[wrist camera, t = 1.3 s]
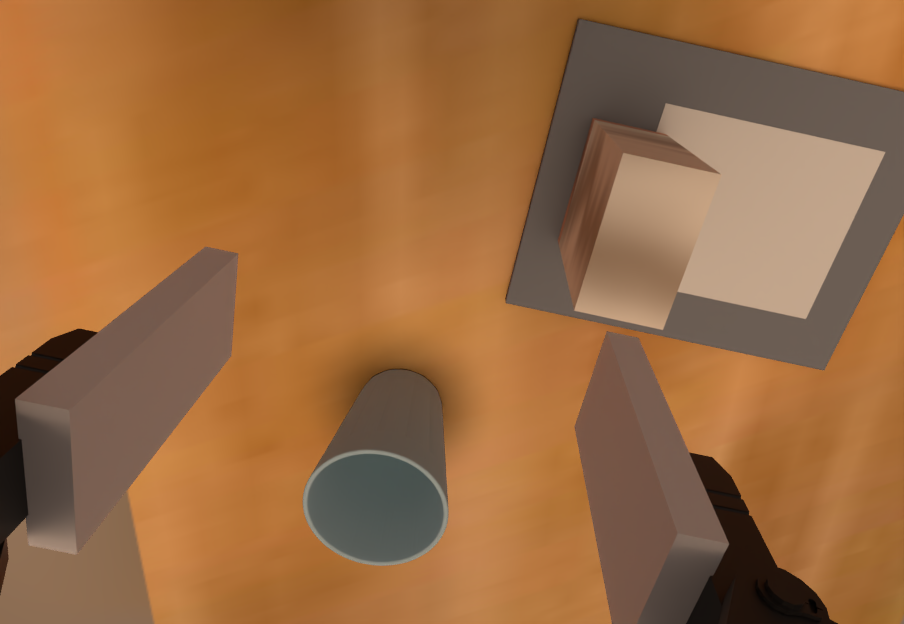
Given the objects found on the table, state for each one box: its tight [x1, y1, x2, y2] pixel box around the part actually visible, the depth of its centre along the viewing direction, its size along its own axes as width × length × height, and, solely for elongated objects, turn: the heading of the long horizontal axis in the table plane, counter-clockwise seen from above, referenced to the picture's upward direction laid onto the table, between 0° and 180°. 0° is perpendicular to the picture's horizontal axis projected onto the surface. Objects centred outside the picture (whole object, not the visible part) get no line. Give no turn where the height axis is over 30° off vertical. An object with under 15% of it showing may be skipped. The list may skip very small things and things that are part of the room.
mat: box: [506, 19, 904, 370], centre depth 37 cm, size 16×20×1 cm
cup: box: [303, 369, 448, 566], centre depth 39 cm, size 8×8×10 cm
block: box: [558, 118, 721, 330], centre depth 32 cm, size 7×4×10 cm, turn 169°
